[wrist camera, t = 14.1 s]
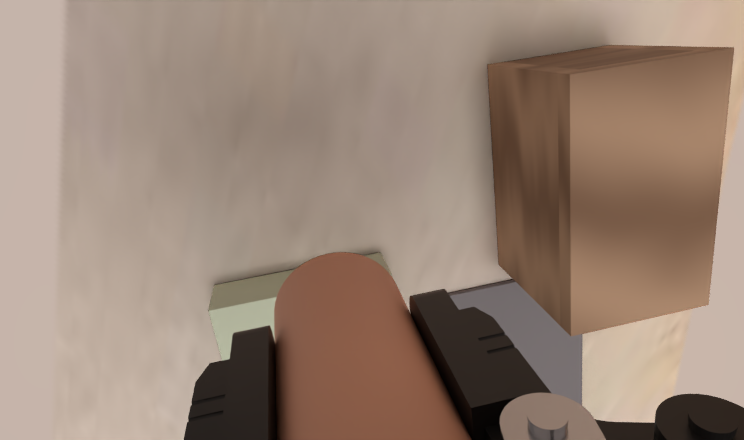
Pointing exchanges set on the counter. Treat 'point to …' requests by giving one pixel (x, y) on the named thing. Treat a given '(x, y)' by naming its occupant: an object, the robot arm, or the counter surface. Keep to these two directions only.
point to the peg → (354, 359)
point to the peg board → (249, 305)
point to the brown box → (610, 178)
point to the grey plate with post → (531, 334)
